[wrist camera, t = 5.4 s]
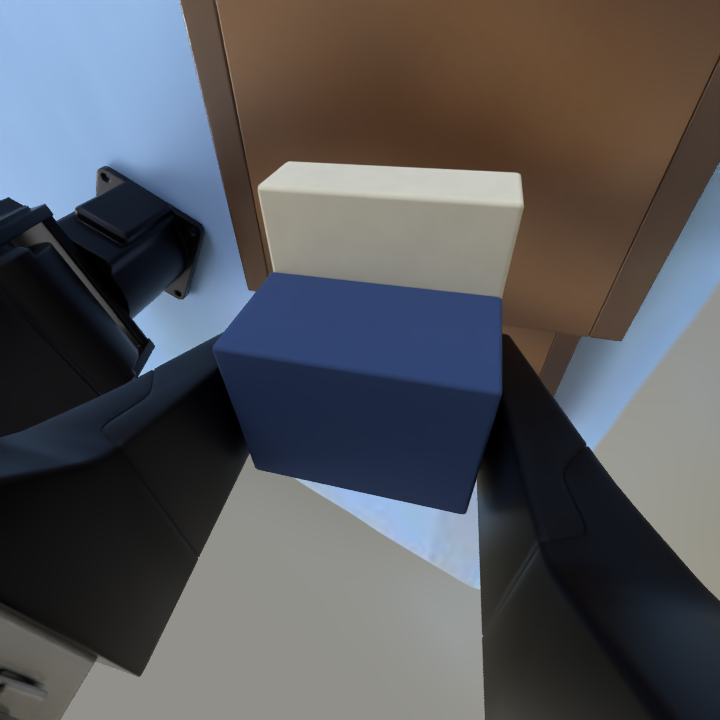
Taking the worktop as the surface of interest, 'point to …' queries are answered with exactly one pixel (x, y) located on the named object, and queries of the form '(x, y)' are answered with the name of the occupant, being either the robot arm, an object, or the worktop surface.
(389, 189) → the blue sleeved eraser
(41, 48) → the worktop surface
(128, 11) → the worktop surface
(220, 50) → the brown wooden cabinet
